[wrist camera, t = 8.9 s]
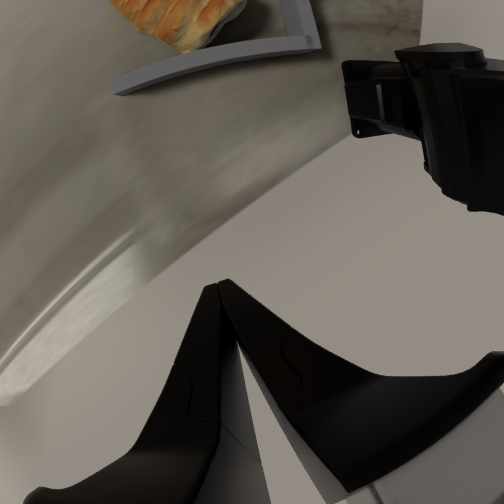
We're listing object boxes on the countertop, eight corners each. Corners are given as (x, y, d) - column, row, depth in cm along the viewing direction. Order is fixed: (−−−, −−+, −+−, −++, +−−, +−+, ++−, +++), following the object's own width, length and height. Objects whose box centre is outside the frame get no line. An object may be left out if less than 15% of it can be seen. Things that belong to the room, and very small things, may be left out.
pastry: (88, 16, 10) (72, 0, 7) (148, -48, 9) (146, -72, 5) (196, 65, 15) (200, 55, 12) (253, 0, 13) (270, -19, 10)
